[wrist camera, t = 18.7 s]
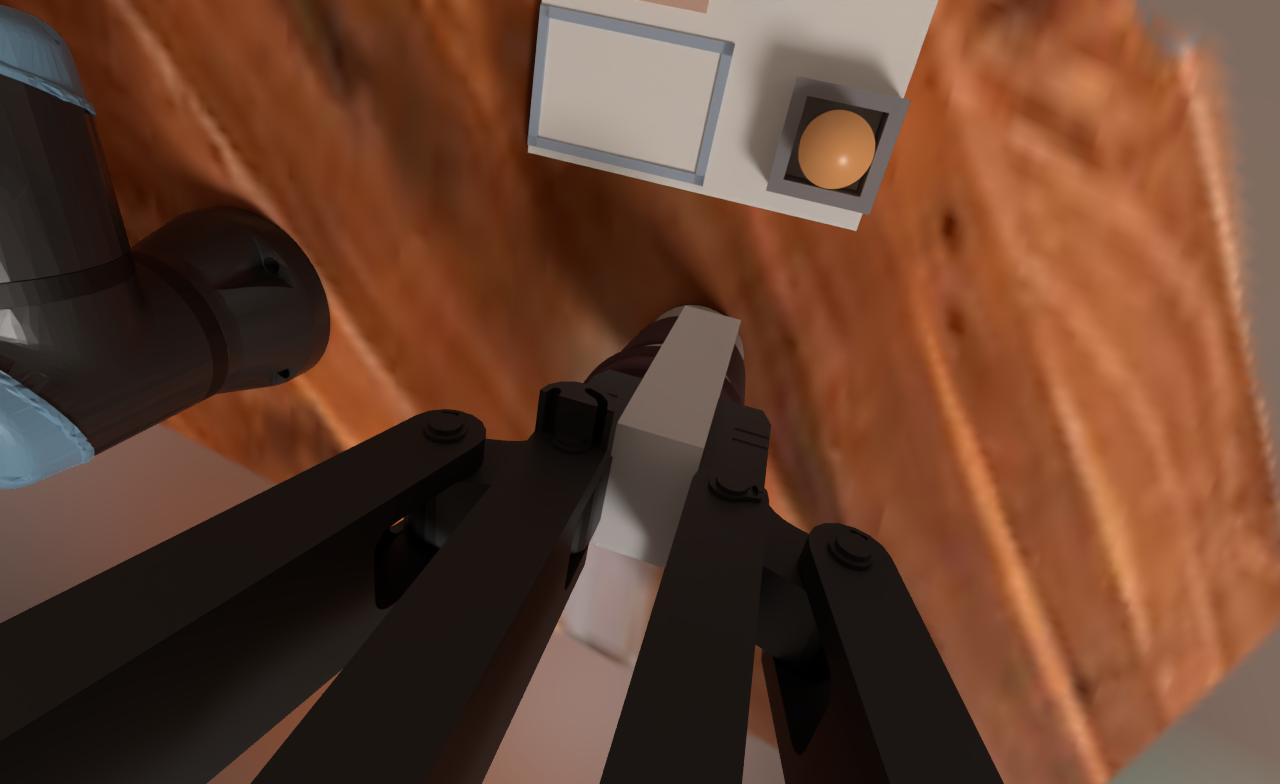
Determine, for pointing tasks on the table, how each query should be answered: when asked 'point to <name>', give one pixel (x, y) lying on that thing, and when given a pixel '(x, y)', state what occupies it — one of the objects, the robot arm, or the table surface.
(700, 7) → the sheet board
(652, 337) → the coffee cup
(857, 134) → the button
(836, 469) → the table surface
